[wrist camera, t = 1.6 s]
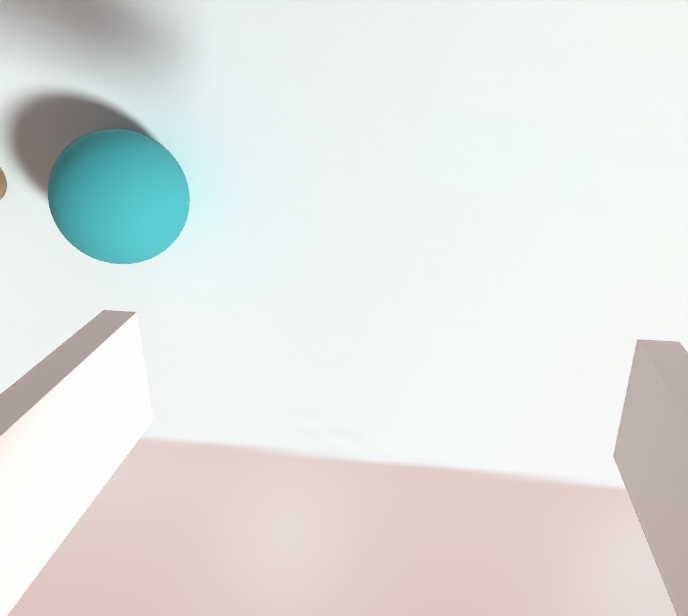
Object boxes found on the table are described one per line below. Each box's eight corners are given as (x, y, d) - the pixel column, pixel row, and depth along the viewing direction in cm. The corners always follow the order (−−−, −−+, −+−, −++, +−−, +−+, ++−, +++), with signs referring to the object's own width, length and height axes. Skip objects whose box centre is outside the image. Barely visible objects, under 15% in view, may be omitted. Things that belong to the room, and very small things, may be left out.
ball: (82, 119, 30) (2, 139, 25) (201, 121, 29) (145, 140, 24) (103, 239, 32) (34, 280, 27) (213, 243, 32) (165, 286, 26)
